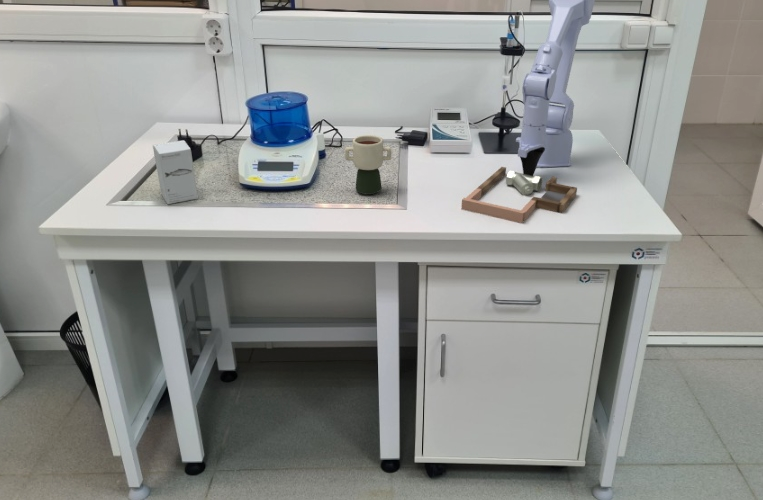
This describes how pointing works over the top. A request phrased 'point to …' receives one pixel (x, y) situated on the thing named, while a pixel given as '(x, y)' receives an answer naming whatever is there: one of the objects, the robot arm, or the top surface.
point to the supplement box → (175, 171)
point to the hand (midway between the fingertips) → (528, 175)
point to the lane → (551, 200)
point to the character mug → (368, 162)
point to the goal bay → (496, 208)
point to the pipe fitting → (524, 182)
